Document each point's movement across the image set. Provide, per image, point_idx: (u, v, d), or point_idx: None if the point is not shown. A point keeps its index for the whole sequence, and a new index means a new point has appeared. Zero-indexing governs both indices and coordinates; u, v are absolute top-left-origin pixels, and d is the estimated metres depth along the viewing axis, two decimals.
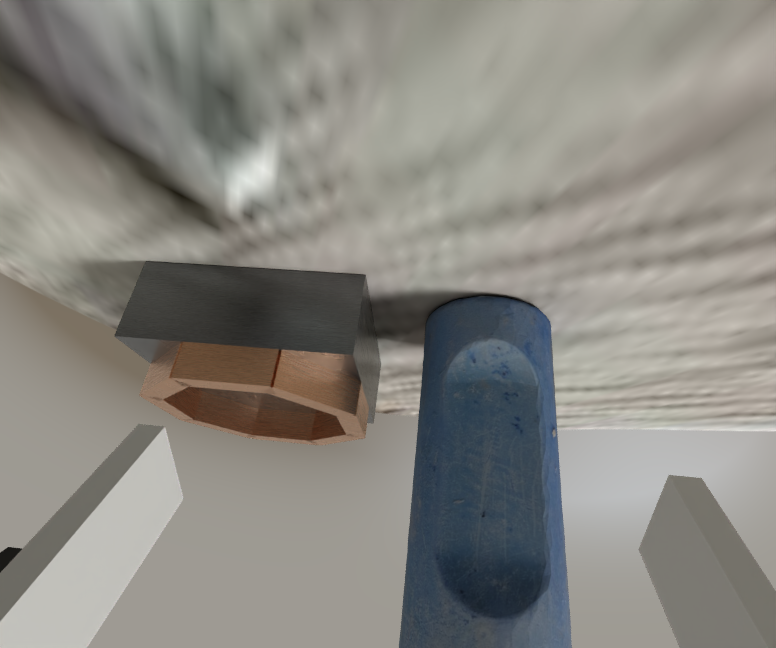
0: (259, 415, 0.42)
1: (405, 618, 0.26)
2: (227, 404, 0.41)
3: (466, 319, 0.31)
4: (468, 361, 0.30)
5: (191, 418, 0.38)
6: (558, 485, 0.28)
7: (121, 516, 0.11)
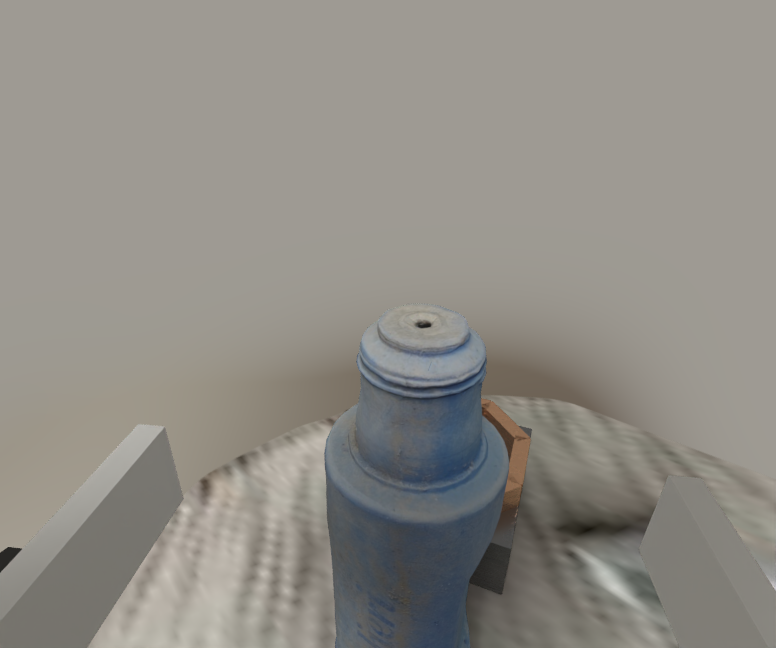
0: None
1: None
2: None
3: None
4: (465, 635, 0.32)
5: None
6: None
7: (121, 516, 0.11)
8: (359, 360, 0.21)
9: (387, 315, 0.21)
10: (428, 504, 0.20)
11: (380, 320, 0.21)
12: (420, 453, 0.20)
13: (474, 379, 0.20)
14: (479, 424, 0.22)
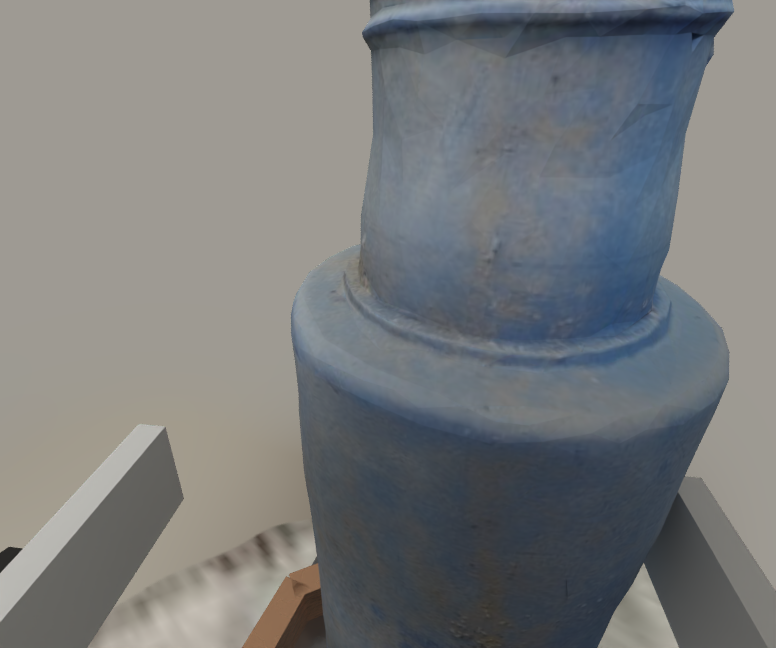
0: (304, 619, 0.26)
1: None
2: None
3: None
4: None
5: None
6: None
7: (121, 516, 0.11)
8: (371, 19, 0.08)
9: None
10: (578, 391, 0.07)
11: None
12: (555, 246, 0.07)
13: None
14: None
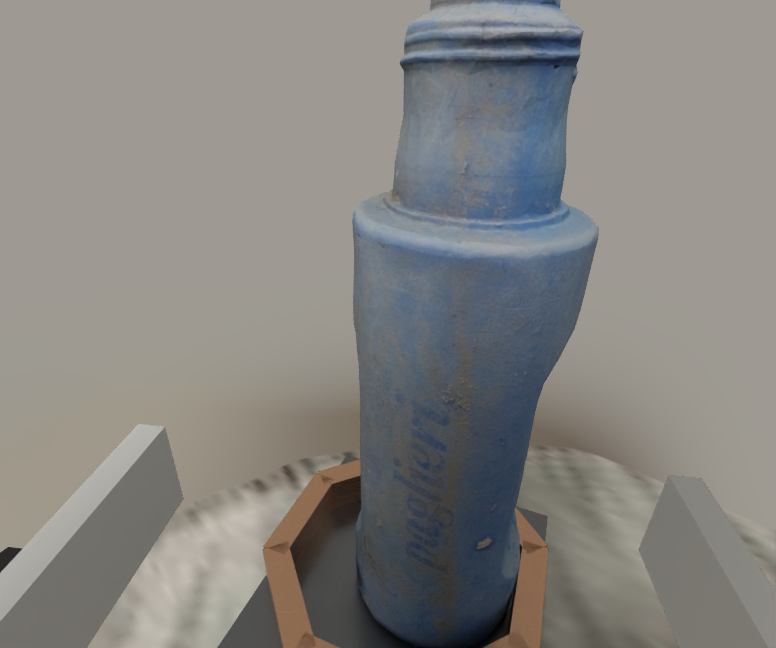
0: (331, 505, 0.32)
1: None
2: None
3: None
4: (513, 515, 0.27)
5: None
6: (485, 494, 0.19)
7: (121, 516, 0.11)
8: (405, 55, 0.15)
9: None
10: (505, 238, 0.15)
11: None
12: (494, 166, 0.15)
13: (571, 50, 0.14)
14: (565, 155, 0.16)
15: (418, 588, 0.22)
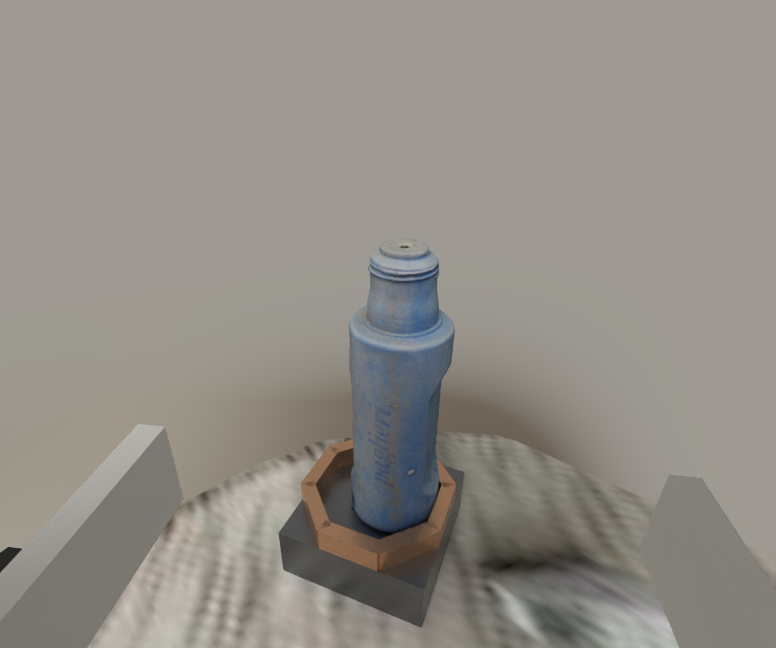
0: (337, 465, 0.56)
1: None
2: None
3: None
4: (435, 466, 0.50)
5: None
6: (409, 447, 0.42)
7: (121, 516, 0.11)
8: (369, 267, 0.39)
9: (385, 243, 0.39)
10: (407, 342, 0.38)
11: (381, 245, 0.38)
12: (403, 314, 0.38)
13: (431, 273, 0.37)
14: (436, 304, 0.39)
15: (381, 496, 0.46)
